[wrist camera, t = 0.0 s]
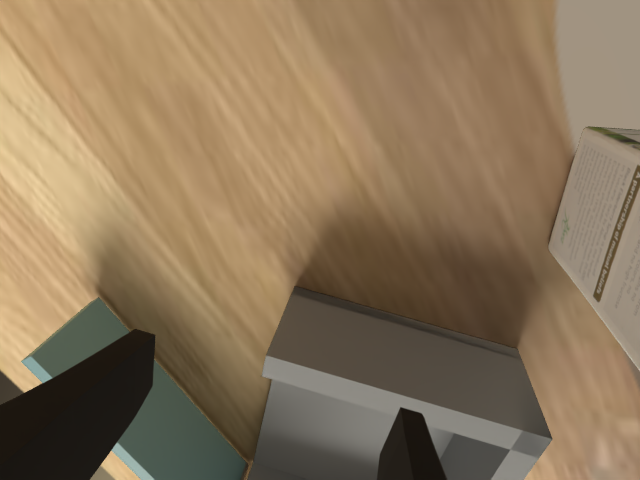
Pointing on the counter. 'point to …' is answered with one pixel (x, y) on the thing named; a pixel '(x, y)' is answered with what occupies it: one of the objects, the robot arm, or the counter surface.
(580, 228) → the syrup box
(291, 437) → the grey open box
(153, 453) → the door
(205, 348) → the counter surface
